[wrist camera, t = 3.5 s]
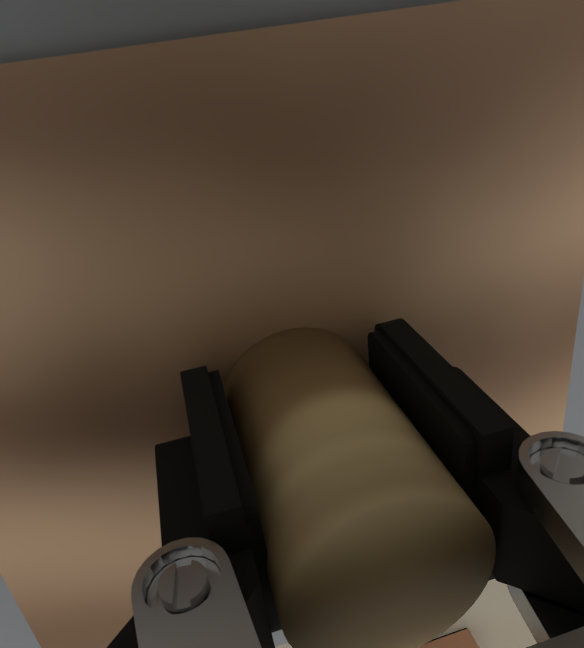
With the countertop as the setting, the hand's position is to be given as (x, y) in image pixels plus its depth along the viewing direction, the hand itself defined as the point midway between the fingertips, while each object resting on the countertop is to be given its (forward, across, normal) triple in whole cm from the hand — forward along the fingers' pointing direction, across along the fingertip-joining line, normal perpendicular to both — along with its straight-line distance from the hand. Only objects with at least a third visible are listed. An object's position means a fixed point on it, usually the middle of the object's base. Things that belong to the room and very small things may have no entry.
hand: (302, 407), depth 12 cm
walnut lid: (+2, 0, 0) cm, 2 cm away
